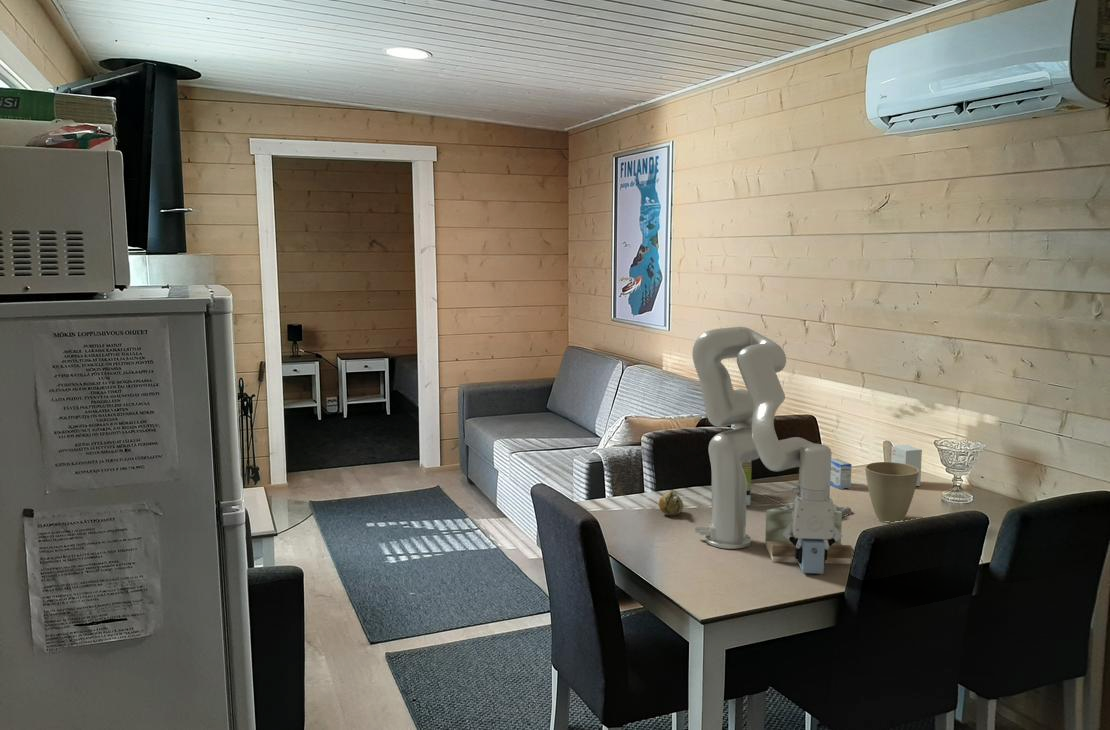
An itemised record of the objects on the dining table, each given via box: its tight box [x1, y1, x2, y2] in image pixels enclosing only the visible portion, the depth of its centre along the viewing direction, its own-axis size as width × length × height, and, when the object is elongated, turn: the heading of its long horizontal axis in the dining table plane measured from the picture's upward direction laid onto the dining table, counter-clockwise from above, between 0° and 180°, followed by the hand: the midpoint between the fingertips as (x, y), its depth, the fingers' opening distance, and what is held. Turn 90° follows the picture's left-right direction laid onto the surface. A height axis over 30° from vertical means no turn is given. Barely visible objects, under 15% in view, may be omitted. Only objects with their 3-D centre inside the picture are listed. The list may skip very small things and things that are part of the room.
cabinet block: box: [797, 539, 825, 574], centre depth 209 cm, size 5×8×8 cm, turn 174°
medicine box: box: [830, 458, 853, 490], centre depth 283 cm, size 8×4×9 cm, turn 17°
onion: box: [658, 490, 684, 516], centre depth 255 cm, size 8×8×8 cm
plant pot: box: [864, 461, 919, 524], centre depth 247 cm, size 15×15×16 cm
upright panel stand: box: [764, 509, 853, 565], centre depth 221 cm, size 20×13×10 cm, turn 84°
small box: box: [890, 444, 923, 487], centre depth 283 cm, size 8×6×13 cm
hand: (810, 561), depth 210 cm, fingers closed on cabinet block, 5 cm apart
